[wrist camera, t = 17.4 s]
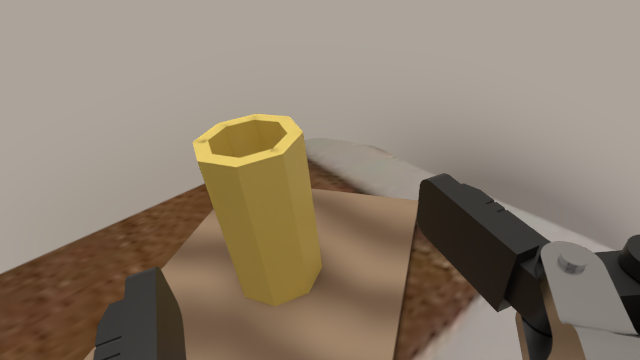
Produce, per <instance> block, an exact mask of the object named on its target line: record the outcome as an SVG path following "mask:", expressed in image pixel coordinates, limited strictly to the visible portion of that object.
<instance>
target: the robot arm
mask: <svg viewBox="0 0 640 360" xmlns="http://www.w3.org/2000/svg"><path fill="white" fill-rule="evenodd" d="M417 221H418V225H419V227H420V230H421V231H422V233H423V234H424V235H425V236H426V237H427V238H428V240H429V241H430V242H431V243H432V244H433V245H434V246H435V247H436V248H437V249H438V250H439V251H440V252H441V253H442V254H443V255H444V256H445V257H446V259H447V260H448V261H449V262H450V263H451V264H452V265H453V266H454V267H455V268H456V269H457V270H458V271H459V272H460V273H461V274H462V275H463V276H464V278H465V279H466V280H467V281H468V282H469V283H470V284H471V285H472V286H473V287H474V288H475V289H476V290H477V291H478V292H479V293H480V294H481V295H482V297H483V298H484V299H485V300H486V301H487V302H488V303H489V304H490V305H491V306H492V307H493V308H494V309H495V310H496V311H497V312H499V311H501V310H503V309H506V308H508V307H510V306H512V307H513V308H514V309H515V310H516V311H517V313H516V317H515V318H516V325H517V330H518V336H519V341H520V347H521V352H522V358H523V360H640V235H635V236H632V237H630V238H629V239H628V241H627V243H626V244H625V246H624V248H623V250H621V251H609V252H597V253H593V252H592V251H590V250H588V249H587V248H584V247H582V246H580V245H577V244H574V243H570V242H563V241H556V242H550V241H549V240H547V239H546V238H544V237H543V236H542V235H540V234H539V233H538V232H536V231H535V230H534V229H532V228H531V227H530V226H528V225H527V224H526V223H524V222H523V221H522V220H520V219H519V218H517V217H516V216H515V215H513V214H512V213H511V212H509V211H508V210H507V211H506V210H505V208H504V207H503V206H501V205H500V204H499V203H497V202H494V200H493V199H492V198H490V197H489V196H488V195H486V194H485V193H484V192H482V191H481V190H479V189H476V188H474V187H471V186H469V185H466V184H460V183H458V182H457V181H456V180H455V179H454V178H452V177H451V176H450V175H448V174H445V173H444V174H440V175H437V176H434V177H431V178H428V179H425V180H423V181H422V182H421V184H420V190H419V200H418V210H417ZM95 347H96V349H95V350H94V357H93V360H186V349H185V338H184V327H183V319H182V314H181V311H180V307H179V305H178V302H177V300H176V298H175V296H174V294H173V292H172V290H171V288H170V286H169V284H168V282H167V281H166V279H165V277H164V275H163V273H162V271H161V269H160V268H159V267H154V268H151V269H148V270H145V271H142V272H139V273H136V274H133V275H130V276H128V277H127V278H126V282H125V295H124V299H123V300H120V301H117V302H114V303H112V304H109V306H108V308H107V309H106V311H105V313H104V315H103V317H102V318H101V320H100V322H99V324H98V328H97V335H96V342H95Z"/></svg>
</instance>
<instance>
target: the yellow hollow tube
mask: <svg viewBox="0 0 640 360" xmlns="http://www.w3.org/2000/svg"><path fill="white" fill-rule="evenodd" d="M193 145H194V149H195V153H196V157H197V161H198V164H199V167H200V170H201V173H202V176H203V179H204V181H205V184H206V187H207V190H208V193H209V196H210V199H211V202H212V204H213V207H214V210H215V213H216V216H217V219H218V222H219V224H220V227H221V230H222V233H223V236H224V239H225V242H226V245H227V247H228V250H229V253H230V256H231V259H232V262H233V265H234V267H235V270H236V273H237V276H238V279H239V282H240V285H241V288H242V290H243V293H244V296H245V297H247V298H250V299H253V300H256V301H259V302H262V303H266V304H269V305H272V306H278V305H280V304H283V303H285V302H288V301H290V300H293V299H295V298H298V297H300V296H303V295H305V294H307V293H309V292H310V290H311V288H312V286H313V284H314V282H315V280H316V278H317V276H318V274H319V272H320V270H321V268H322V261H321V254H320V247H319V240H318V233H317V226H316V219H315V213H314V206H313V199H312V192H311V185H310V178H309V171H308V164H307V157H306V150H305V143H304V136H303V131H302V130H301V129H300V128H299V127H298V126H297V125H296V123H295V122H294V121H293V120H292V119H291V118H290V117H288V116H276V115H264V114H253V115H249V116H245V117H241V118H238V119H233V120H229V121H225V122H221V123H218V124H216V125H215V126H214V127H212V128H211V129H210V130H208V131H207V132H206V133H204V134H203V135H202V136H200V137H199V138H198V139H196V140H195V141H194V142H193Z"/></svg>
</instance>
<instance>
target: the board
mask: <svg viewBox="0 0 640 360" xmlns="http://www.w3.org/2000/svg"><path fill="white" fill-rule="evenodd" d="M311 192H312V199H313V206H314V213H315V219H316V226H317V233H318V240H319V247H320V254H321V261H322V268H321V270H320V272H319V274H318V276H317V278H316V280H315V282H314V284H313V286H312V288H311V290H310V292H309V293H307V294H305V295H303V296H300V297H298V298H295V299H293V300H290V301H288V302H285V303H283V304H280V305H278V306H272V305H269V304H266V303H262V302H259V301H256V300H253V299H250V298H247V297H245V296H244V293H243V290H242V288H241V285H240V282H239V279H238V276H237V273H236V270H235V267H234V265H233V262H232V259H231V256H230V253H229V250H228V247H227V245H226V242H225V239H224V236H223V233H222V230H221V227H220V224H219V222H218V219H217V216H216V213H215V210H214V209H213V210H212V211H211V213H210V214H209V215H208V216H207V217H206V218H205V220H204V221H203V222H202V223H201V224H200V225H199V227H198V228H197V229H196V230H195V231H194V232H193V234H192V235H191V236H190V237H189V238H188V239H187V240H186V242H185V243H184V244H183V245H182V246H181V247H180V249H179V250H178V251H177V252H176V253H175V254H174V256H173V257H172V258H171V259H170V260H169V261H168V263H167V264H166V265H165V266H164V267H163V268H162V269H161V271H162V273H163V275H164V277H165V279H166V281H167V282H168V284H169V286H170V288H171V290H172V292H173V294H174V296H175V298H176V300H177V302H178V305H179V307H180V311H181V314H182V319H183V327H184V338H185V349H186V360H394V355H395V349H396V343H397V337H398V331H399V324H400V318H401V312H402V306H403V300H404V293H405V287H406V281H407V275H408V269H409V262H410V256H411V250H412V244H413V238H414V231H415V225H416V219H417V210H418V201H415V200H407V199H398V198H389V197H380V196H371V195H363V194H354V193H345V192H336V191H328V190H319V189H311ZM95 349H96V347H94V348H93V350H92V351H91V352H90V353H89V354H88V355H87V356H86V358H85V359H84V360H93V357H94V350H95Z"/></svg>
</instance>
